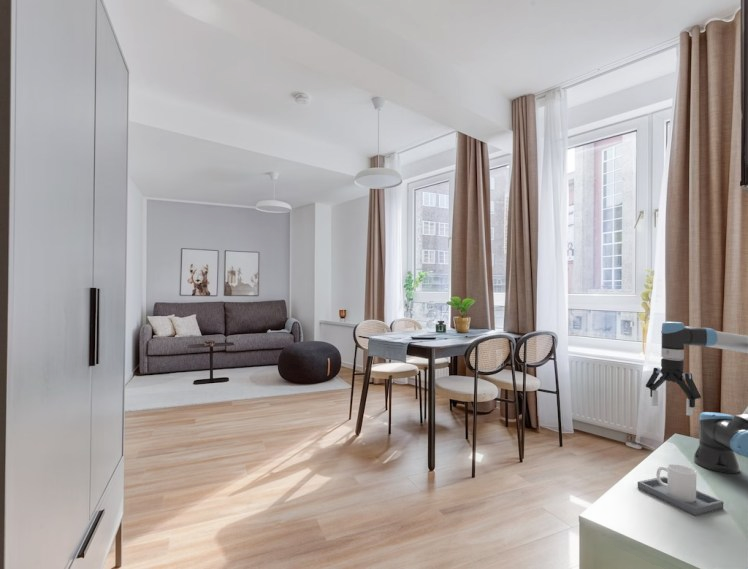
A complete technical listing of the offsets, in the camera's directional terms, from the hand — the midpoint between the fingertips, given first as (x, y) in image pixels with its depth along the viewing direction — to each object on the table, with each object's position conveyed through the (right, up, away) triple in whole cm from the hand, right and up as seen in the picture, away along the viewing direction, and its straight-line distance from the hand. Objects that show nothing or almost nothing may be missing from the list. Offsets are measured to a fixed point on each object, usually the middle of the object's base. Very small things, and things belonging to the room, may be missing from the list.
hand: (671, 410), depth 165 cm
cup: (-13, -26, -19) cm, 34 cm away
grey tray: (-12, -26, -20) cm, 35 cm away
